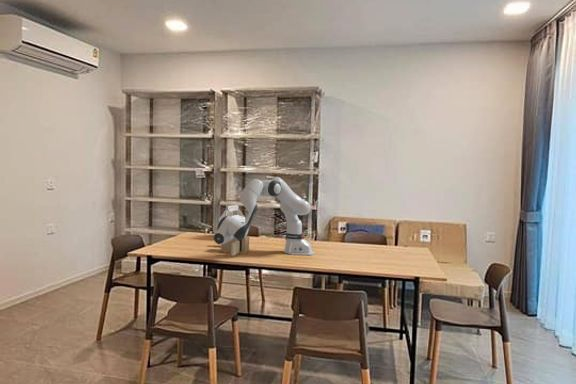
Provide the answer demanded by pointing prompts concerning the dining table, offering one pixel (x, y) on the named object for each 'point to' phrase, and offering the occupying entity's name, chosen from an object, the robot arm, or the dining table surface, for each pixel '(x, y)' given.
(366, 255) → the dining table surface
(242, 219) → the gable box
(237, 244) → the flap
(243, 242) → the carton
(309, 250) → the robot arm
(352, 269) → the dining table surface
